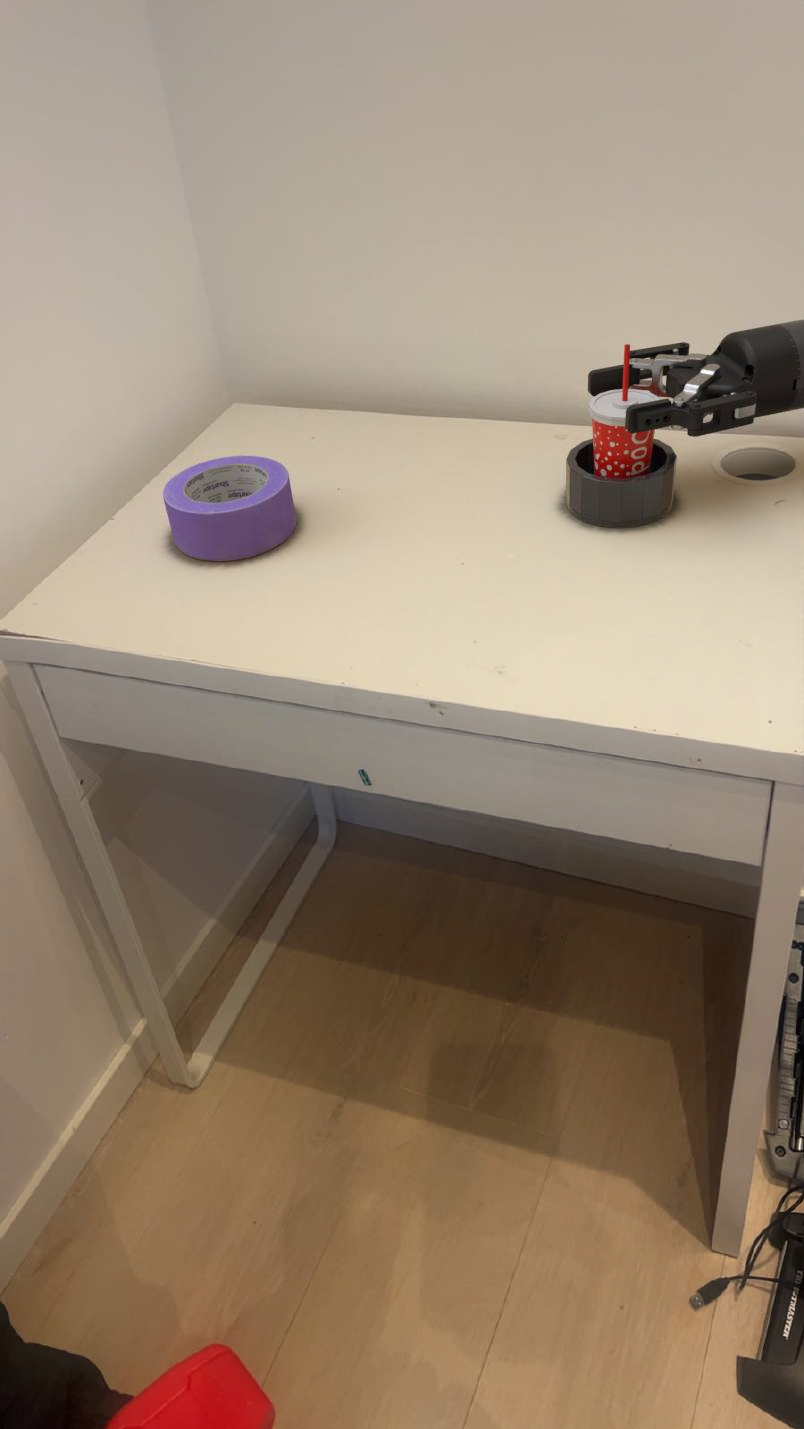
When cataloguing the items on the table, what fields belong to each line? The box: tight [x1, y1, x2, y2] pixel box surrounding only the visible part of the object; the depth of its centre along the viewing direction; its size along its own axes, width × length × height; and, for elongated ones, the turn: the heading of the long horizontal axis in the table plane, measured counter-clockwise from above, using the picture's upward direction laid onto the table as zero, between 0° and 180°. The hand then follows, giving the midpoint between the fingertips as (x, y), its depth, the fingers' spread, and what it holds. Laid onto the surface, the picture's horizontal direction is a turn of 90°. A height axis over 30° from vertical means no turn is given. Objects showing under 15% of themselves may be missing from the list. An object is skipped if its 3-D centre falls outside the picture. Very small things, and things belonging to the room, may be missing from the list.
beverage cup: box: [588, 343, 661, 479], centre depth 91 cm, size 6×6×14 cm
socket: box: [565, 438, 678, 529], centre depth 95 cm, size 10×10×4 cm
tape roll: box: [162, 455, 297, 562], centre depth 97 cm, size 12×12×5 cm
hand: (607, 401), depth 90 cm, fingers open, 8 cm apart
